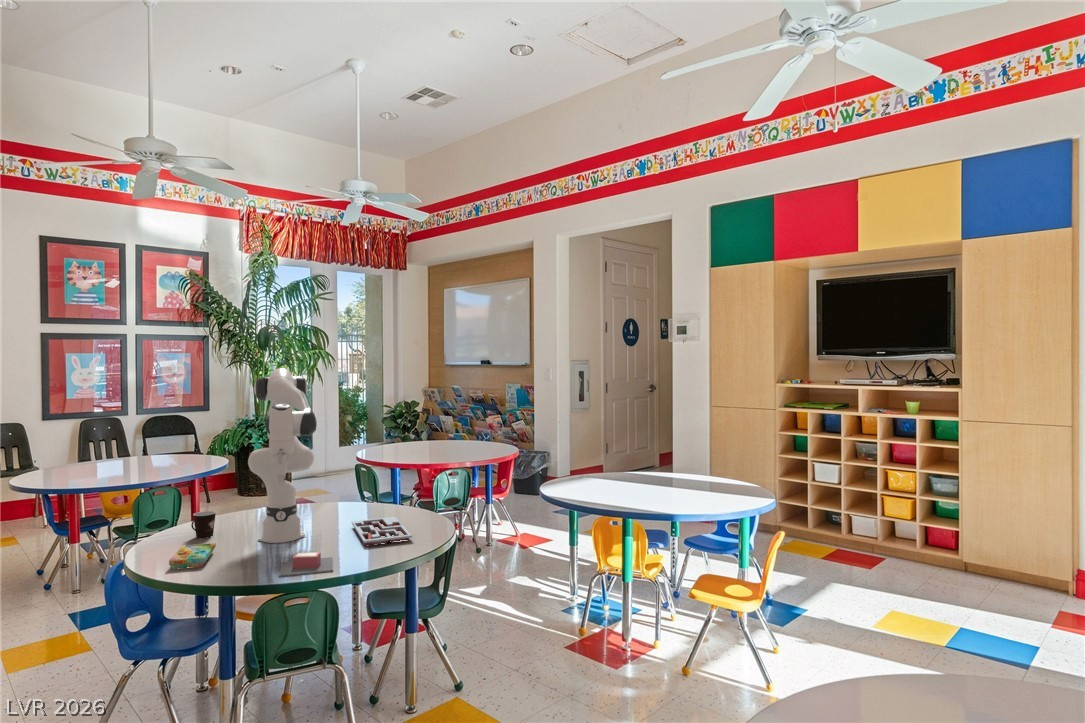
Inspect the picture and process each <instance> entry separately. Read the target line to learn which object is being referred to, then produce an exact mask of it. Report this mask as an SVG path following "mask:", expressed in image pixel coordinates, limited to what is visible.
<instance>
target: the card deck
mask: <svg viewBox="0 0 1085 723" xmlns="http://www.w3.org/2000/svg"><path fill="white" fill-rule="evenodd" d="M321 553H322V552H319V551H316V552H315V551H314V552H312V551H311V552H296V553H295V554H294V555H293V556H292V560H291V561H292V569H298V568H317V567H318V566H319V564H320V563H321V558H322V557H321Z"/></svg>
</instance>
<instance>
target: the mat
mask: <svg viewBox="0 0 1085 723" xmlns="http://www.w3.org/2000/svg"><path fill="white" fill-rule="evenodd" d="M333 561H334V560H333V557H332V556H329V557H328V556H327V557H321V563H320V564H319V566H318V567H317V568H298V569H292V560H289V561H281V564H280V569H279V573H278V577H279V578H286V577H294V576H295V577H296V576H304V575H305V576H306V575H312V574H323V573H333V572H334V565H333V564H334V562H333Z"/></svg>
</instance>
